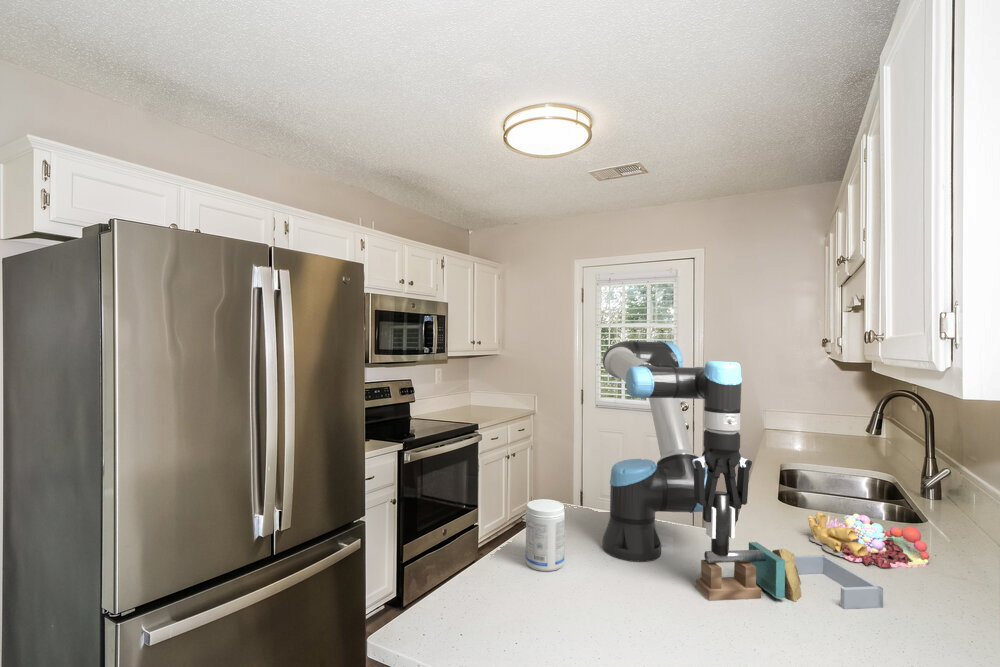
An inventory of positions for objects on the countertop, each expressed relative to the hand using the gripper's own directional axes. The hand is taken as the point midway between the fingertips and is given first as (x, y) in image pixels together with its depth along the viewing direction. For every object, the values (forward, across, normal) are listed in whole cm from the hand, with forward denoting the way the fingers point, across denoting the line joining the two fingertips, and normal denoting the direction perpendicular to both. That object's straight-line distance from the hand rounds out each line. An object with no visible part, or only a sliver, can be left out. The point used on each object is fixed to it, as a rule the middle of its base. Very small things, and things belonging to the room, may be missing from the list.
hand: (720, 535), depth 114 cm
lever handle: (+12, +4, 0) cm, 12 cm away
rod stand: (+13, +2, 0) cm, 13 cm away
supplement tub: (+13, -36, +17) cm, 42 cm away
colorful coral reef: (+13, +53, +20) cm, 59 cm away
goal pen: (+13, +27, 0) cm, 30 cm away
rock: (+13, +18, 0) cm, 22 cm away
